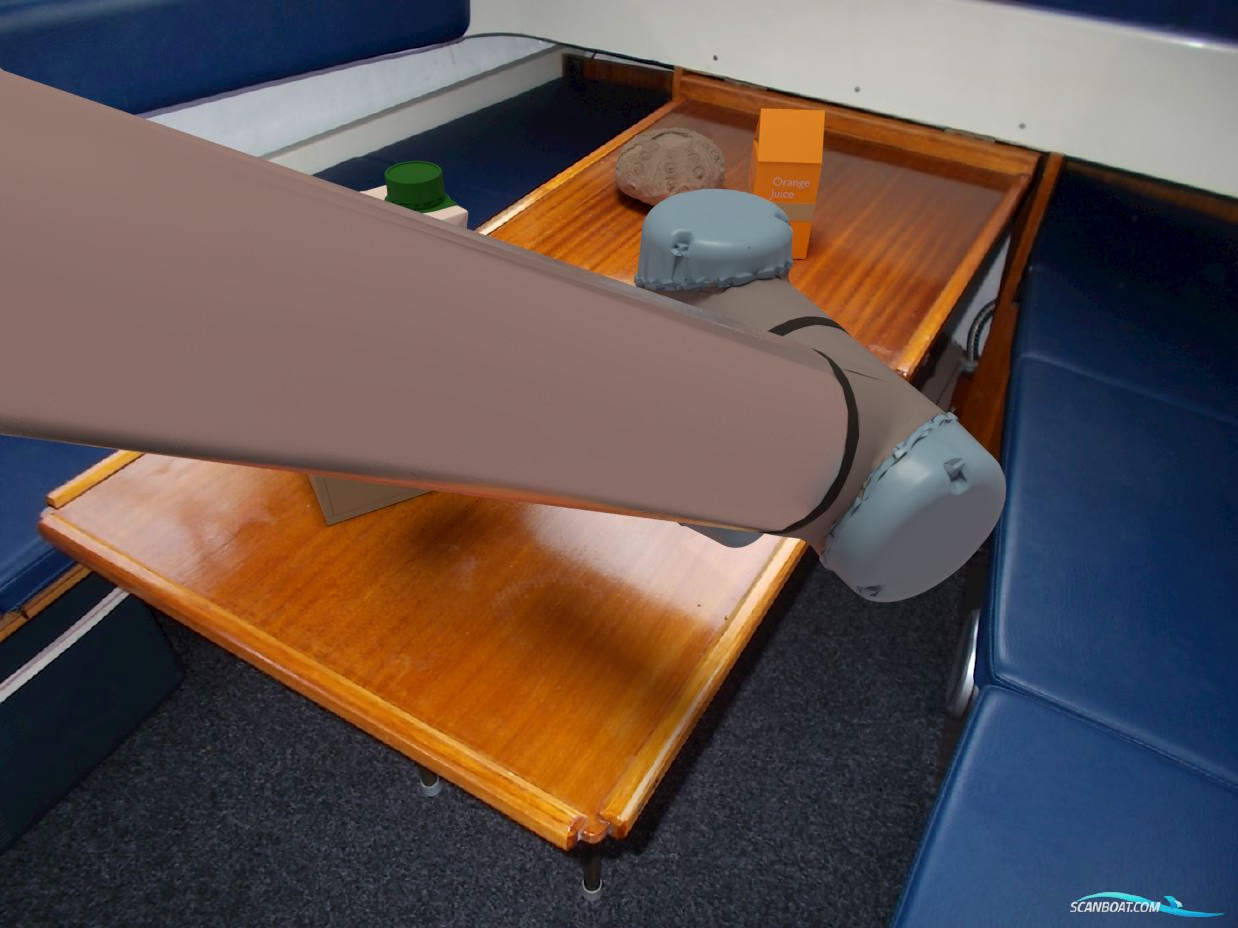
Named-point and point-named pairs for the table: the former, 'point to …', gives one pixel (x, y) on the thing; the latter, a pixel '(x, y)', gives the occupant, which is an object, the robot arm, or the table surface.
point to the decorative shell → (668, 164)
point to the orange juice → (789, 166)
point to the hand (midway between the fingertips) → (369, 275)
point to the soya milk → (420, 191)
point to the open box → (356, 496)
